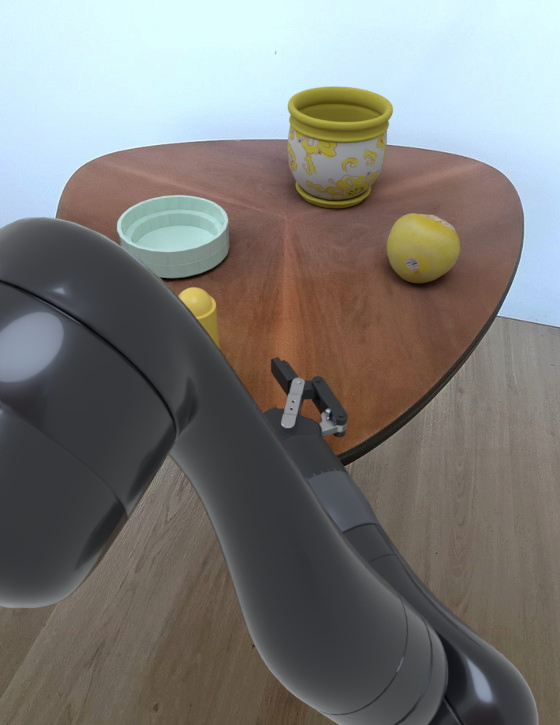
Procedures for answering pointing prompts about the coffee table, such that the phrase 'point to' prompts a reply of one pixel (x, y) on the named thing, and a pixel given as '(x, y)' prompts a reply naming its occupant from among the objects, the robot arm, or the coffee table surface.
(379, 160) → the flowerpot
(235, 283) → the coffee table surface
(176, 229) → the basin
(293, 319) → the coffee table surface
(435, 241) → the fruit
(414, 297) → the coffee table surface
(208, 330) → the corn cob
